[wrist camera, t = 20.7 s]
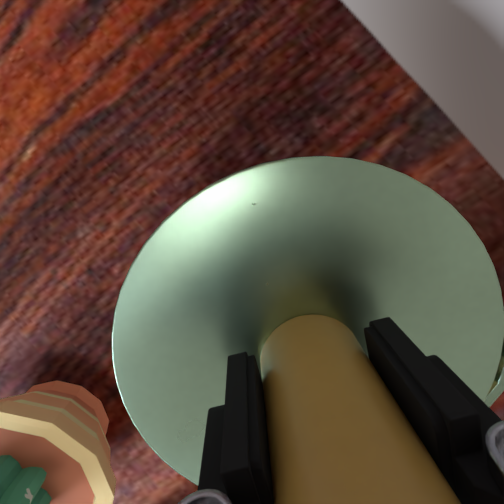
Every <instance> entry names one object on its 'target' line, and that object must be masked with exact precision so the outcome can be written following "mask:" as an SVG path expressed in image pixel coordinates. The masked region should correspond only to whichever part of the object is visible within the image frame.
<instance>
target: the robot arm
mask: <svg viewBox="0 0 504 504" xmlns="http://www.w3.org/2000/svg"><path fill="white" fill-rule="evenodd" d="M364 335H365V340H366V345H367V351H368V356H369V359H370V361H371V363H372V364H373V366H374V367H375V369H376V370H377V372H378V374H379V375H380V377H381V378H382V380H383V381H384V383H385V385H386V386H387V388H388V389H389V391H390V392H391V394H392V396H393V397H394V399H395V400H396V402H397V403H398V405H399V407H400V408H401V410H402V411H403V413H404V414H405V416H406V418H407V419H408V421H409V422H410V424H411V425H412V427H413V429H414V430H415V432H416V433H417V435H418V436H419V438H420V440H421V441H422V443H423V444H424V446H425V447H426V449H427V451H428V452H429V454H430V455H431V457H432V458H433V460H434V462H435V463H436V465H437V466H438V468H439V469H440V471H441V473H442V474H443V476H444V477H445V479H446V480H447V482H448V484H449V485H450V487H451V488H452V490H453V491H454V493H455V495H456V496H457V498H458V499H459V501H460V502H461V504H504V421H502V420H501V419H500V418H499V417H498V416H497V415H496V414H495V413H494V412H493V411H492V410H491V409H490V408H489V407H488V406H487V405H486V404H485V403H484V402H483V401H482V400H481V399H480V398H479V397H478V396H477V395H476V394H475V393H474V392H473V391H472V390H471V389H470V388H469V387H468V386H467V385H466V384H465V383H464V382H463V381H462V380H461V379H460V378H459V377H458V376H457V375H456V374H455V373H454V372H453V371H452V370H451V369H450V368H449V367H448V366H447V365H446V364H445V363H444V361H443V360H442V359H441V358H439V357H438V356H437V355H430V356H425V354H424V353H423V352H422V351H421V350H420V349H419V348H418V347H417V346H416V345H415V344H414V343H413V342H412V340H411V339H410V338H409V337H408V336H407V335H406V334H405V333H404V332H403V331H402V330H401V329H400V328H399V326H398V325H397V324H396V323H395V322H394V321H393V320H392V319H391V318H390V317H385V318H381V319H377V320H373V321H370V322H369V327H366V328H364ZM178 504H274V498H273V487H272V477H271V466H270V456H269V445H268V435H267V424H266V414H265V403H264V393H263V383H262V379H261V375H260V372H259V368H258V365H257V361H256V358H255V355H250V356H248V354H247V352H242V353H237V354H233V355H229V356H228V360H227V375H226V390H225V404H224V405H220V406H216V407H212V408H210V409H209V410H208V415H207V423H206V430H205V438H204V446H203V453H202V461H201V469H200V476H199V484H198V491H196V492H194V493H192V494H190V495H188V496H186V497H185V498H184V499H183V500H181V501H180V502H179V503H178Z"/></svg>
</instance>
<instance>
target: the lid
mask: <svg viewBox="0 0 504 504" xmlns="http://www.w3.org/2000/svg"><path fill="white" fill-rule="evenodd" d="M385 317H390V318H391V319H392V320H393V321H394V322H395V323H396V324H397V325H398V326H399V328H400V329H401V330H402V331H403V332H404V333H405V334H406V335H407V336H408V337H409V338H410V339H411V340H412V342H413V343H414V344H415V345H416V346H417V347H418V348H419V349H420V350H421V351H422V352H423V353H424V354H425V356H430V355H437V356H438V357H439V358H441V359H442V360H443V361H444V363H445V364H446V365H447V366H448V367H449V368H450V369H451V370H452V371H453V372H454V373H455V374H456V375H457V376H458V377H459V378H460V379H461V380H462V381H463V382H464V383H465V384H466V385H467V386H468V387H469V388H470V389H471V390H472V391H473V392H474V393H475V394H476V395H477V396H478V397H479V398H480V399H481V400H482V401H483V402H484V401H485V400H486V397H487V395H488V393H489V391H490V388H491V386H492V384H493V382H494V379H495V376H496V372H497V369H498V365H499V362H500V359H501V353H502V346H503V339H504V307H503V300H502V293H501V288H500V284H499V281H498V278H497V274H496V271H495V268H494V265H493V263H492V261H491V259H490V257H489V255H488V253H487V251H486V249H485V246H484V244H483V243H482V241H481V240H480V238H479V237H478V236H477V234H476V233H475V231H474V230H473V228H472V227H471V225H470V224H469V223H468V222H467V221H466V220H465V218H464V217H463V216H462V215H461V214H460V213H459V212H458V211H457V210H456V209H455V208H454V207H453V206H452V205H451V204H450V203H449V202H447V201H446V200H445V199H444V198H442V197H441V196H440V195H438V194H437V193H436V192H435V191H433V190H432V189H431V188H429V187H427V186H426V185H424V184H422V183H420V182H418V181H417V180H415V179H413V178H411V177H409V176H408V175H406V174H403V173H400V172H398V171H395V170H393V169H390V168H387V167H385V166H382V165H379V164H375V163H370V162H366V161H361V160H357V159H352V158H342V157H329V156H310V157H292V158H286V159H281V160H275V161H270V162H265V163H261V164H258V165H255V166H252V167H249V168H246V169H243V170H240V171H237V172H234V173H232V174H230V175H228V176H226V177H224V178H222V179H220V180H218V181H216V182H214V183H212V184H210V185H208V186H207V187H206V188H204V189H203V190H201V191H200V192H198V193H197V194H195V195H194V196H192V197H191V198H189V199H188V200H186V201H185V202H184V203H183V204H182V205H180V206H179V207H178V208H177V209H176V210H175V211H174V212H173V213H171V214H170V215H169V216H168V217H167V218H166V219H165V220H164V221H163V222H162V223H161V224H160V225H159V226H158V228H157V229H156V230H155V231H154V232H153V234H152V235H151V236H150V237H149V238H148V240H147V241H146V242H145V243H144V245H143V247H142V248H141V250H140V251H139V253H138V255H137V256H136V258H135V259H134V261H133V263H132V264H131V266H130V269H129V271H128V273H127V275H126V278H125V280H124V282H123V284H122V287H121V290H120V293H119V297H118V300H117V304H116V308H115V311H114V319H113V327H112V335H111V339H112V362H113V368H114V373H115V379H116V384H117V387H118V390H119V393H120V396H121V399H122V402H123V404H124V406H125V408H126V410H127V412H128V414H129V416H130V418H131V420H132V422H133V424H134V426H135V427H136V429H137V430H138V431H139V433H140V434H141V436H142V437H143V439H144V440H145V442H146V443H147V444H148V445H149V446H150V447H151V448H152V449H153V450H154V452H155V453H156V454H157V455H158V456H159V457H160V458H161V459H162V460H163V461H164V462H166V463H167V464H168V465H169V466H170V467H171V468H173V469H174V470H175V471H176V472H178V473H179V474H181V475H182V476H184V477H185V478H187V479H188V480H190V481H191V482H193V483H194V484H196V485H198V484H199V476H200V469H201V461H202V453H203V446H204V438H205V430H206V423H207V415H208V410H209V409H210V408H212V407H216V406H220V405H224V404H225V390H226V375H227V360H228V356H229V355H233V354H237V353H242V352H247V354H248V356H250V355H255V358H256V361H257V365H258V368H259V372H260V375H261V379H262V383H263V393H264V403H265V414H266V424H267V435H268V445H269V456H270V466H271V477H272V487H273V498H274V504H461V502H460V501H459V499H458V498H457V496H456V495H455V493H454V491H453V490H452V488H451V487H450V485H449V484H448V482H447V480H446V479H445V477H444V476H443V474H442V473H441V471H440V469H439V468H438V466H437V465H436V463H435V462H434V460H433V458H432V457H431V455H430V454H429V452H428V451H427V449H426V447H425V446H424V444H423V443H422V441H421V440H420V438H419V436H418V435H417V433H416V432H415V430H414V429H413V427H412V425H411V424H410V422H409V421H408V419H407V418H406V416H405V414H404V413H403V411H402V410H401V408H400V407H399V405H398V403H397V402H396V400H395V399H394V397H393V396H392V394H391V392H390V391H389V389H388V388H387V386H386V385H385V383H384V381H383V380H382V378H381V377H380V375H379V374H378V372H377V370H376V369H375V367H374V366H373V364H372V363H371V361H370V359H369V356H368V351H367V345H366V340H365V335H364V328H366V327H369V322H370V321H373V320H377V319H381V318H385Z"/></svg>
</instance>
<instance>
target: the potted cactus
mask: <svg viewBox="0 0 504 504" xmlns="http://www.w3.org/2000/svg"><path fill="white" fill-rule="evenodd" d="M108 424H109V419H108V417H107V414H106V412H105V409H104V407H103V405H102V402H101V401H100V400H99V399H98V398H96V397H95V396H94V395H93V394H91V393H90V392H89V391H88V390H86V389H85V388H84V387H82V386H80V385H75V384H71V383H67V382H62V381H58V380H56V381H51V382H47V383H42V384H38V385H33V386H32V387H31V388H30V389H29V390H28V391H27V392H26V393H25V394H21V395H16V396H12V397H7V398H3V399H0V504H112V503H113V499H114V493H115V486H116V478H115V475H114V473H113V471H112V468H111V466H110V446H109V444H108V442H107V439H106V433H107V428H108Z"/></svg>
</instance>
